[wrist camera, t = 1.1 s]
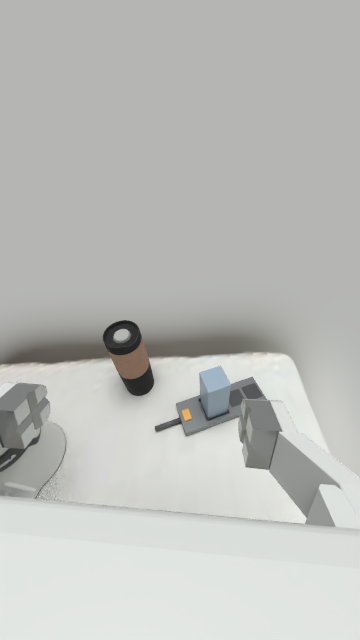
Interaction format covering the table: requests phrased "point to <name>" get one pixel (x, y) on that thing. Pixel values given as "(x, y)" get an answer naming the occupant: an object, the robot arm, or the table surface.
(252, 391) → the power strip
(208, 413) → the blue rectangular block
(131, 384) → the travel mug
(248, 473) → the table surface
